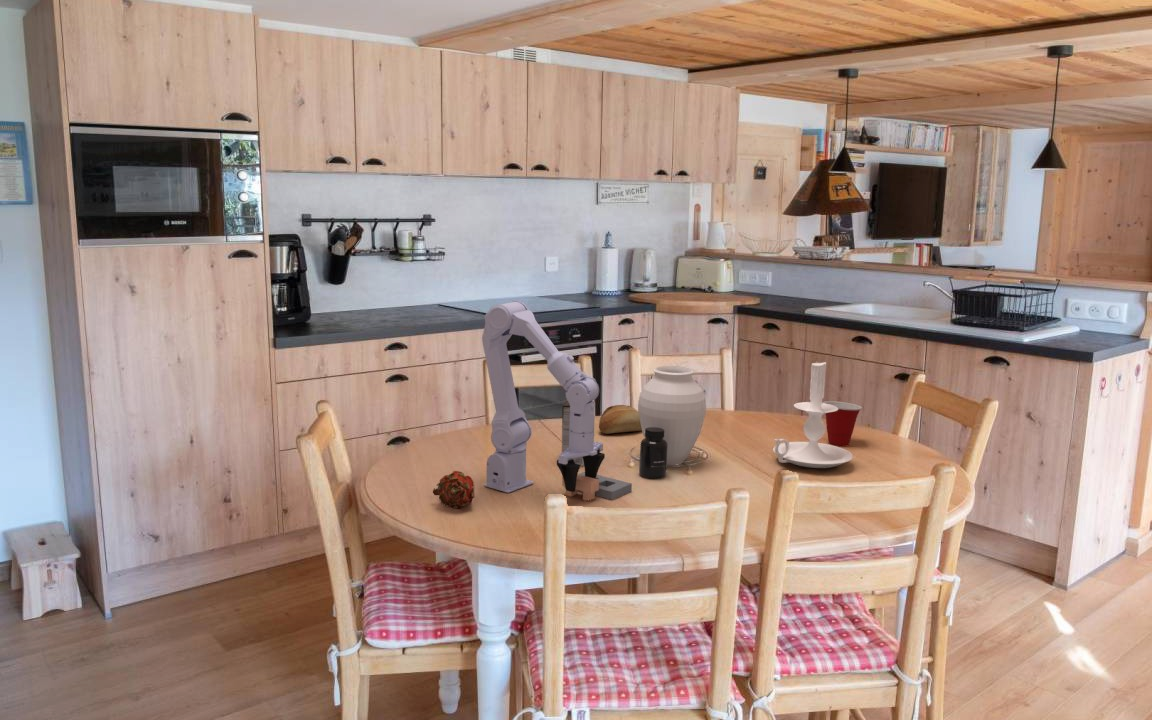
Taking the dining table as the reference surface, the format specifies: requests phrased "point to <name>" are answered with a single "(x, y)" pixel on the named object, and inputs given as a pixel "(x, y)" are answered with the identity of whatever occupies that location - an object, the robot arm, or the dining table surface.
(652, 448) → the supplement bottle
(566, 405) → the coffee box
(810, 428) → the candlestick
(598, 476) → the gray rectangular slab
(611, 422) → the bread roll
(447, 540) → the dining table surface
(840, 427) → the plastic cup
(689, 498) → the dining table surface
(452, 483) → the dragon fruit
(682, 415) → the vase
